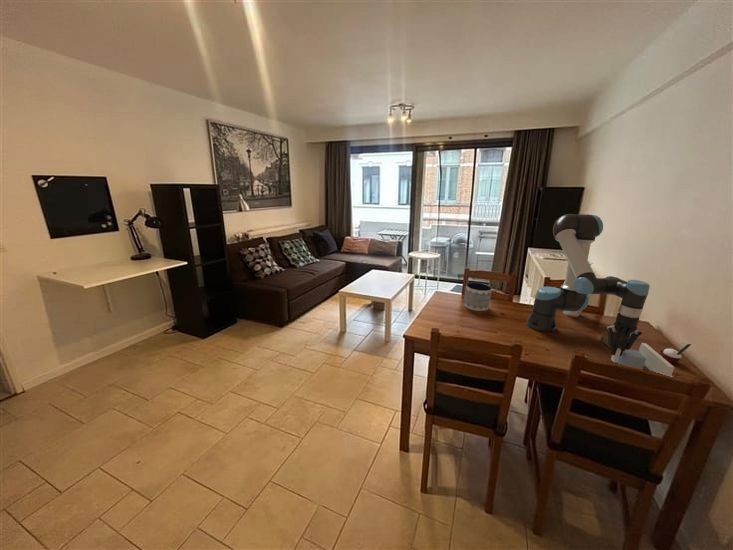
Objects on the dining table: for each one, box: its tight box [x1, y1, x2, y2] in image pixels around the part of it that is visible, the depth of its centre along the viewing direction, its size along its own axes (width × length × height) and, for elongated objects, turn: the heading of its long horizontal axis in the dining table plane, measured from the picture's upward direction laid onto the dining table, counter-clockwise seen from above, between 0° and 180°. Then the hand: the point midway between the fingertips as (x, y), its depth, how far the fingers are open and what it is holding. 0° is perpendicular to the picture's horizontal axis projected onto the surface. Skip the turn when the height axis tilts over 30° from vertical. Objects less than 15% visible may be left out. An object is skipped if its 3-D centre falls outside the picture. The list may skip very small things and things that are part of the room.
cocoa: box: [660, 343, 692, 364], centre depth 142 cm, size 10×6×12 cm, turn 165°
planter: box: [463, 282, 493, 312], centre depth 199 cm, size 16×16×14 cm
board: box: [638, 342, 675, 377], centre depth 136 cm, size 6×20×8 cm, turn 164°
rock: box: [600, 329, 620, 349], centre depth 156 cm, size 11×9×10 cm
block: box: [616, 348, 646, 370], centre depth 138 cm, size 7×7×7 cm
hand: (613, 360), depth 140 cm, fingers closed
